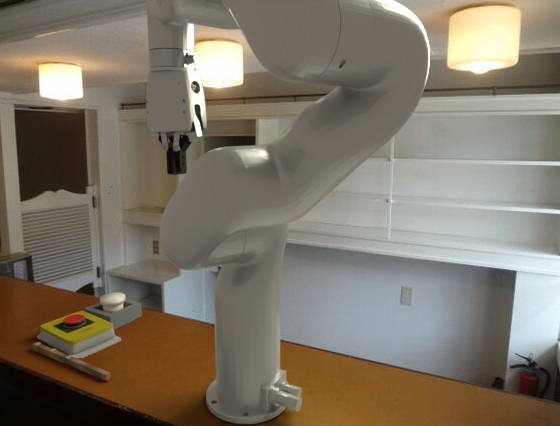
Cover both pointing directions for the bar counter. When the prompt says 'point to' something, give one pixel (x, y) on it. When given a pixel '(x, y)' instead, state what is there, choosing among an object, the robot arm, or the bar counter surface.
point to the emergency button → (79, 334)
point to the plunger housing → (117, 313)
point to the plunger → (112, 302)
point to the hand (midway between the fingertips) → (177, 173)
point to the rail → (72, 361)
